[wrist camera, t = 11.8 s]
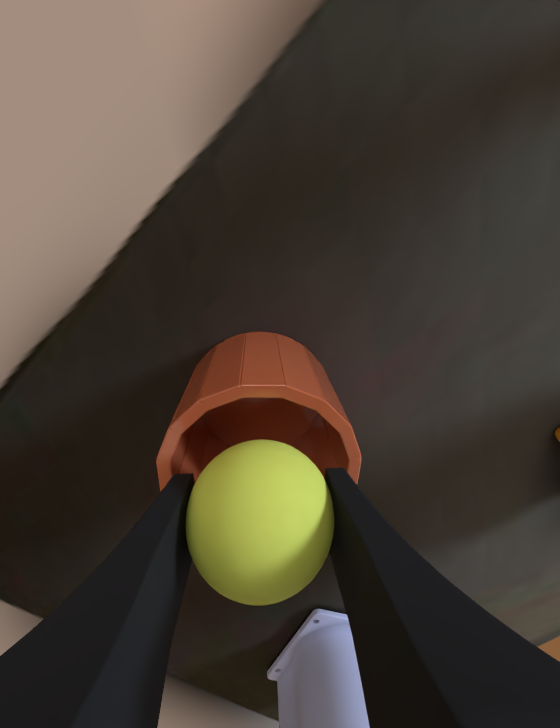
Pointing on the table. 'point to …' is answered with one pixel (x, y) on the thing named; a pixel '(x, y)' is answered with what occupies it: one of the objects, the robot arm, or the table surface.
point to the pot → (258, 407)
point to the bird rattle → (557, 433)
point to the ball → (259, 522)
